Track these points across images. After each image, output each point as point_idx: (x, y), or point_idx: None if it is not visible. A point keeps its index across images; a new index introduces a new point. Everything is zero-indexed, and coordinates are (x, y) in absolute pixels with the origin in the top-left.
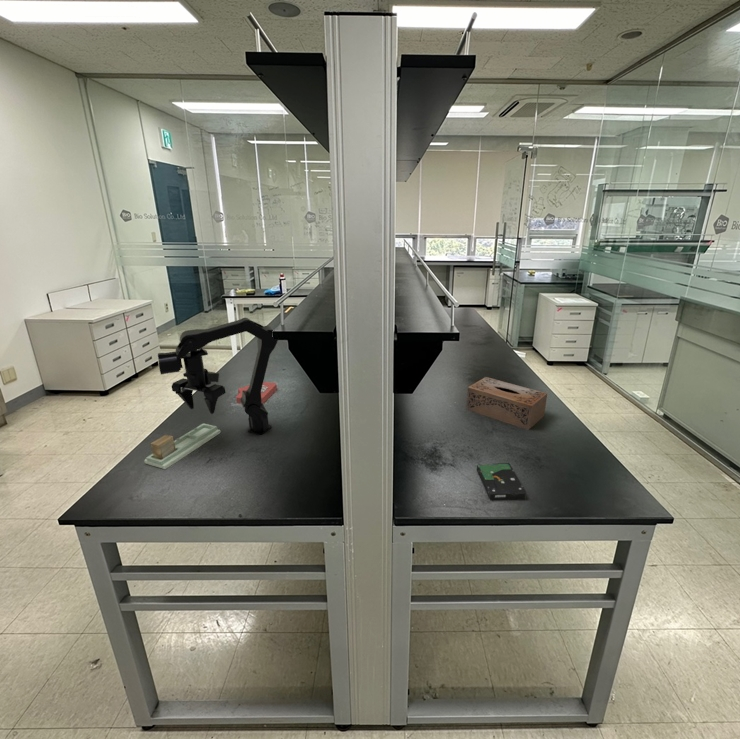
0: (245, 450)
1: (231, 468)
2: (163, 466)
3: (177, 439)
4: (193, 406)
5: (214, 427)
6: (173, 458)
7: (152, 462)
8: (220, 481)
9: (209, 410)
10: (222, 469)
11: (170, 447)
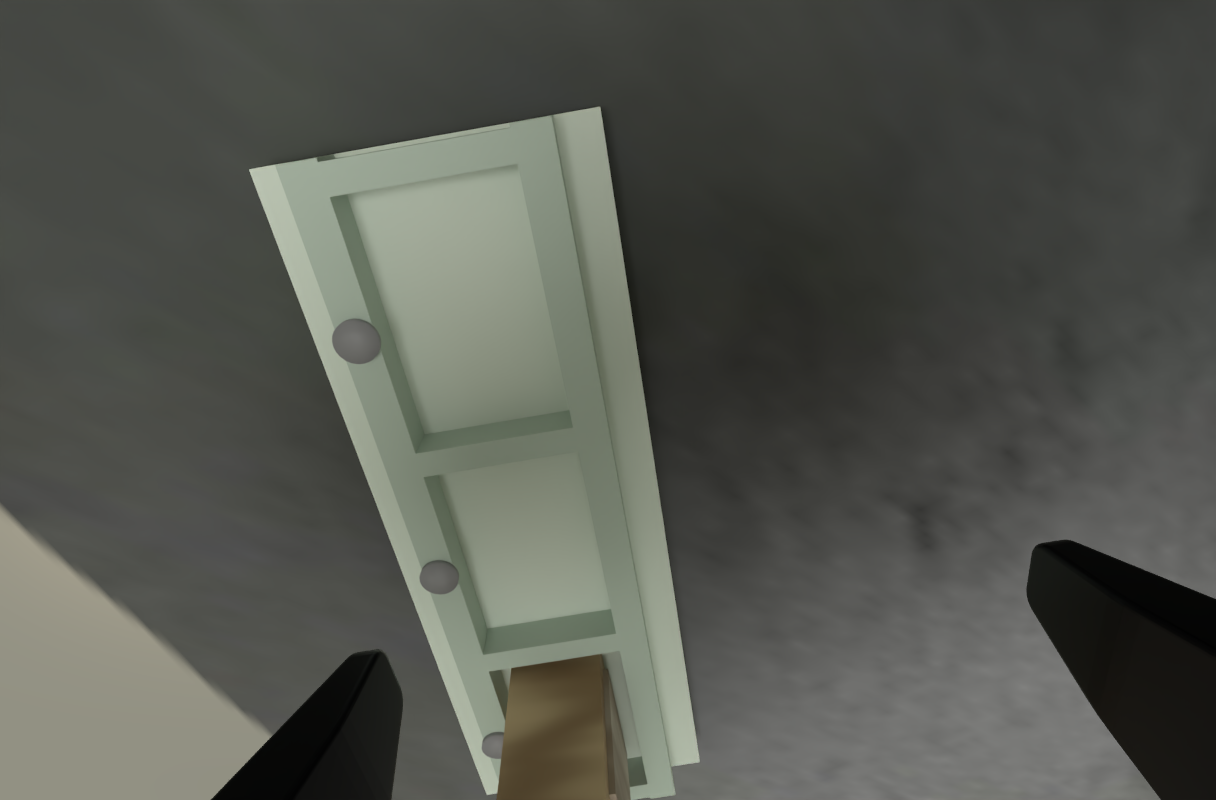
0: (1169, 233)
1: (1188, 499)
2: (689, 759)
3: (446, 585)
4: (369, 685)
5: (545, 162)
6: (667, 692)
7: None
8: None
9: (1117, 724)
10: (1118, 542)
11: (616, 747)
